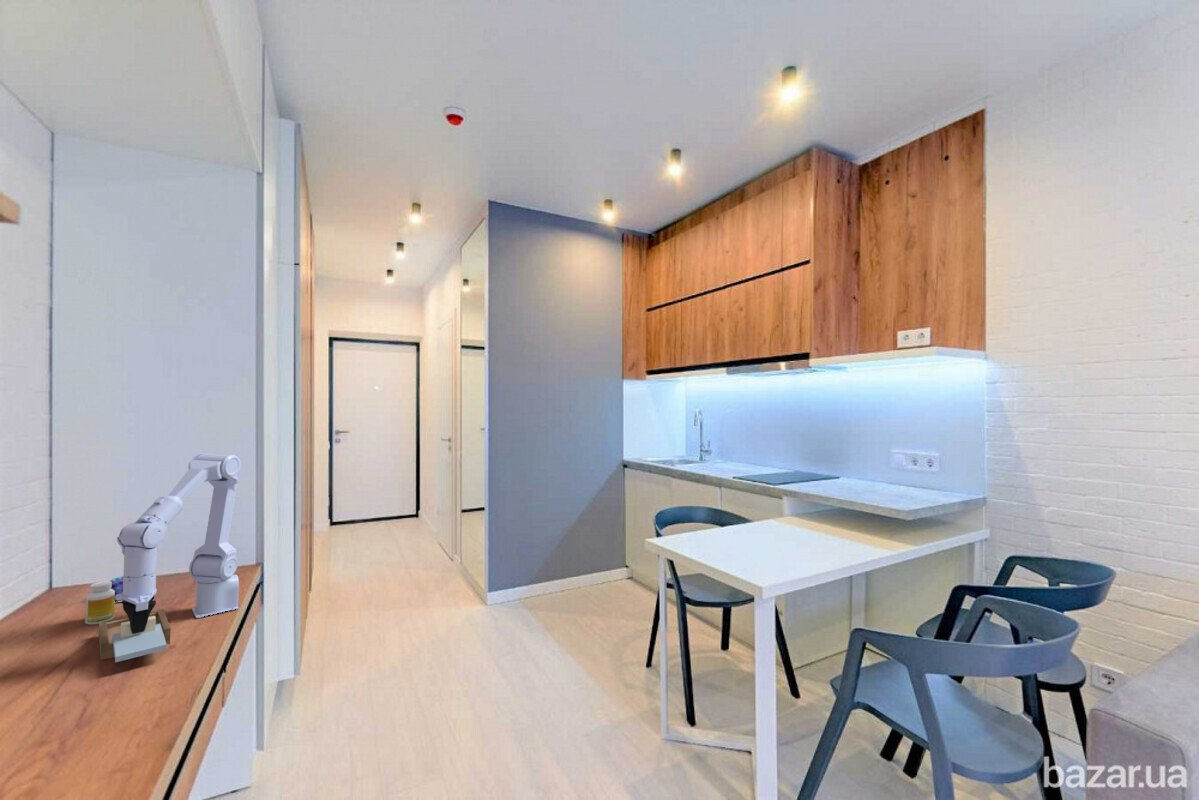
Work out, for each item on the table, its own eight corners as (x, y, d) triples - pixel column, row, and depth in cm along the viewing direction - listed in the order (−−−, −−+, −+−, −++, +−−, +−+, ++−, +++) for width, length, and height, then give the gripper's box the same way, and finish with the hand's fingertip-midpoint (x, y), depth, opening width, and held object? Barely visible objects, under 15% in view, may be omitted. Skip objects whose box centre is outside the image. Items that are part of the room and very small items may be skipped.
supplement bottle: (118, 618, 133) (119, 582, 132) (90, 627, 128) (92, 589, 128) (108, 614, 135) (109, 578, 135) (80, 621, 130) (82, 584, 130)
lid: (160, 628, 123) (160, 611, 123) (166, 649, 115) (167, 631, 115) (112, 639, 117) (113, 621, 117) (115, 662, 109) (116, 643, 108)
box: (162, 622, 132) (163, 608, 132) (169, 643, 122) (170, 628, 122) (98, 636, 123) (99, 622, 123) (100, 660, 114) (101, 644, 114)
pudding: (123, 587, 152) (124, 569, 152) (160, 590, 152) (161, 573, 152) (80, 603, 140) (81, 584, 140) (120, 607, 140) (120, 588, 140)
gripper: (114, 568, 120) (112, 624, 120) (118, 587, 110) (116, 648, 110) (153, 562, 125) (151, 615, 125) (161, 579, 115) (158, 638, 115)
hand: (137, 630), depth 118 cm, fingers closed on lid, 2 cm apart
